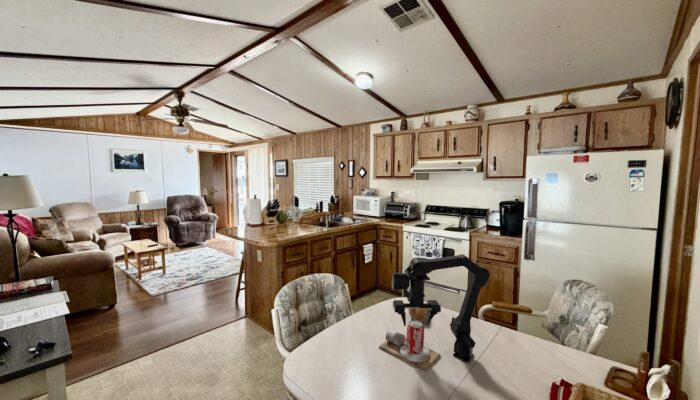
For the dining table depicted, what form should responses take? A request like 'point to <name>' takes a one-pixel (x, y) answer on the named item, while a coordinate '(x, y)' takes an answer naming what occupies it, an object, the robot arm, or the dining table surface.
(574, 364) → the dining table surface
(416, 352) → the soda can
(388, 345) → the duct board
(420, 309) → the bread roll
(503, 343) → the dining table surface
